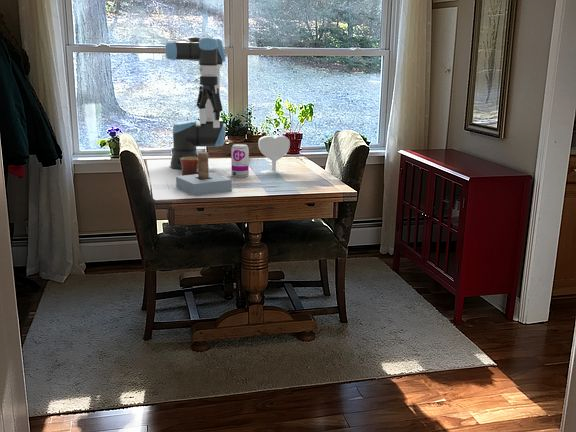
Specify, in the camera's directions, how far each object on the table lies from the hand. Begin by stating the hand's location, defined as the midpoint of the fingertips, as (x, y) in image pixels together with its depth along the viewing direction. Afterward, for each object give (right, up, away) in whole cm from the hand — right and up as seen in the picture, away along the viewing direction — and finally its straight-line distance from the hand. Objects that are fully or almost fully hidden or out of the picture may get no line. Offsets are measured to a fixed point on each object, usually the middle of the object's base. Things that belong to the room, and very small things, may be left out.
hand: (209, 125), depth 267 cm
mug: (-10, -23, +19) cm, 31 cm away
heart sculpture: (+27, -17, +42) cm, 53 cm away
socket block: (-3, -28, +2) cm, 28 cm away
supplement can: (+11, -20, +31) cm, 38 cm away
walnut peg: (-3, -28, +2) cm, 28 cm away
